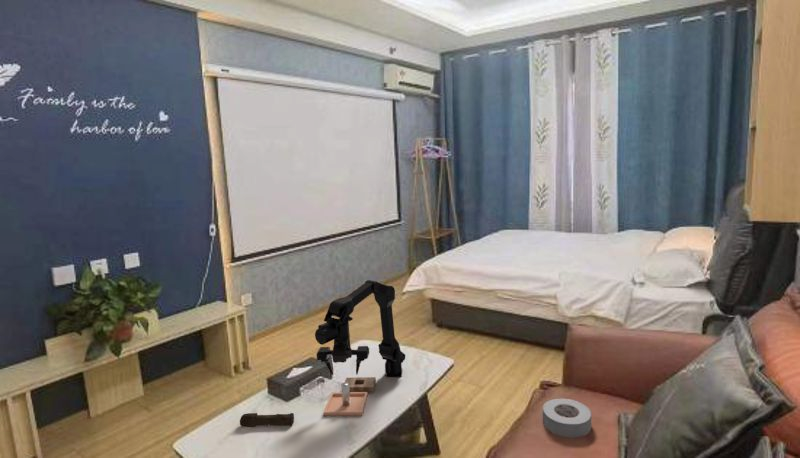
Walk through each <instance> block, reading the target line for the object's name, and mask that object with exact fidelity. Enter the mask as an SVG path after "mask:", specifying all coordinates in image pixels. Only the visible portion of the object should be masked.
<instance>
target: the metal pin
mask: <svg viewBox="0 0 800 458" xmlns="http://www.w3.org/2000/svg"><path fill="white" fill-rule="evenodd" d="M340 387H341V388H340V392H342V405H343V406H349V405H350V404H351V403H350V389H349V383H347V382H345V381H344V382H342V383H341V384H340Z"/></svg>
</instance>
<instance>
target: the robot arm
mask: <svg viewBox="0 0 800 458" xmlns="http://www.w3.org/2000/svg"><path fill="white" fill-rule="evenodd" d="M372 294H373V296H374V297H373V298H374V301H375V302H376V303H377V305H378V307H379V314H380V321H381V322H380V323H381V332H382V339H381V342H380V343H379V344H378V353H379V355H380V356H381V358H382V360H384V373H385V374H386V375H385V376H386V377H387V378H392V377H393V378H394V377H396V378H398V377H402V375H403V369H404V368H403V363H404V362H405V360H406V354H405V353H404V352H403V351H401V347H400V346H401V345H400V343H399V342H398V340H397V339H396V337H395V326H394V316H393V315H394V314H393V304H394V302H395V299H396V290H395V287H394V286H392V285H387V284H382V283H380V282H378V281H376V280H371V279H367V280H366V281H365V282H364V283H363V284H362V285H360V286H359V287H358V288H356V289H354V290H353V291H352V292H350V293H349V294H348V295H346V296H344V297H339V298H337V299H334V300H333V301H331V302H330V303H329V306H328V309H327V312H326V314H325V316H324V318H323V322H324V323H321V324H318V327H317V329H316V330H315V333H314V338H315V340H316V341H317V343H318V344H320V345H322V346H320V347H319V348H318V351H317V352H316V356H315V357H316V360H317V361H320V363H325V364H326V367H327V368H328V370H329V373H330V374H331V376H334V366H333V363H346V362H347V360H349V359H351V358H352V356H356V359H355V363H356V364H355V375H356V376H357V375H358V374H359V370H360V366H361V363H362V362H364V361H365V360H367V359H368V358H369V355H370V347H369V346H368V345H363V346H362V345H358V347H357V349H353V348H352V345H351V335H350V325H349V322H351V321H353V319H354V318H353V317H352V316H350V315H351V314H352V313H353V312H354V310H355V308H356V307H357V305H359V304H360V303H362V302H363V301H364V300H365V299H367V298H368V297H369V296H371V295H372ZM331 341H333V346H332V349H331V347H330V346H324V345H326V344H327V343H329V342H331Z"/></svg>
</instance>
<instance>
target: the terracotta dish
mask: <svg viewBox="0 0 800 458" xmlns="http://www.w3.org/2000/svg"><path fill="white" fill-rule="evenodd" d="M368 394H369V393H367V392H350V403H351V404H350V405H349V406H343V405H342V391H339V392H338V391H337V392H330V396H329V398H328V401H327V403H326V405H325V408H324V410H323V417H363V416H364V411H365V408H366V404H367V400H368V396H369V395H368Z"/></svg>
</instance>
